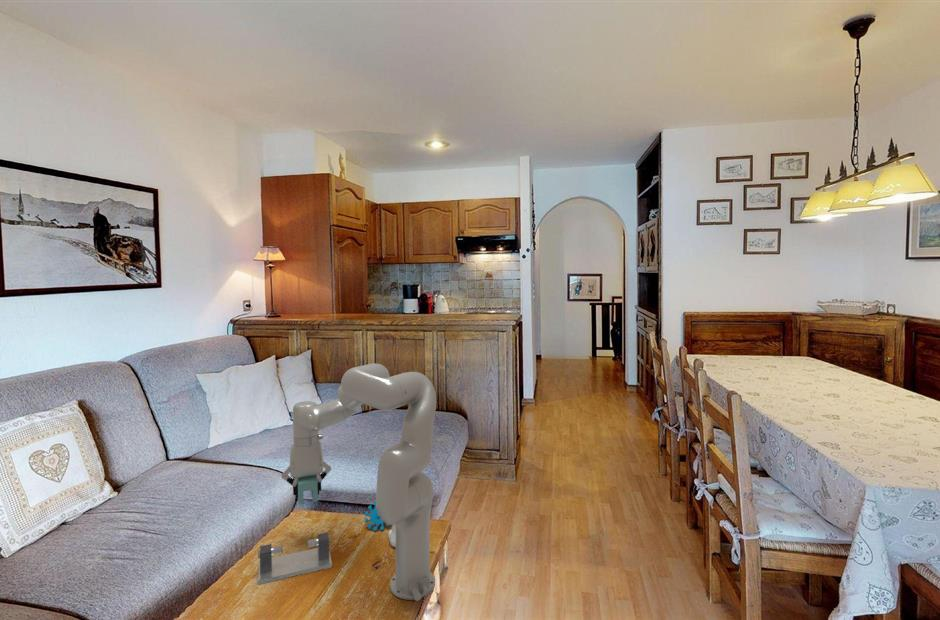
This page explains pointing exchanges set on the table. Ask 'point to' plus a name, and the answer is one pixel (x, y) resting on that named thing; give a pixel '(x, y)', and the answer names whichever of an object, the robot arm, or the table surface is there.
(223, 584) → the table surface
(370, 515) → the blue lumpy piece
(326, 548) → the shaft rig
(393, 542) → the seated beast figurine
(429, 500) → the robot arm
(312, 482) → the teal block
